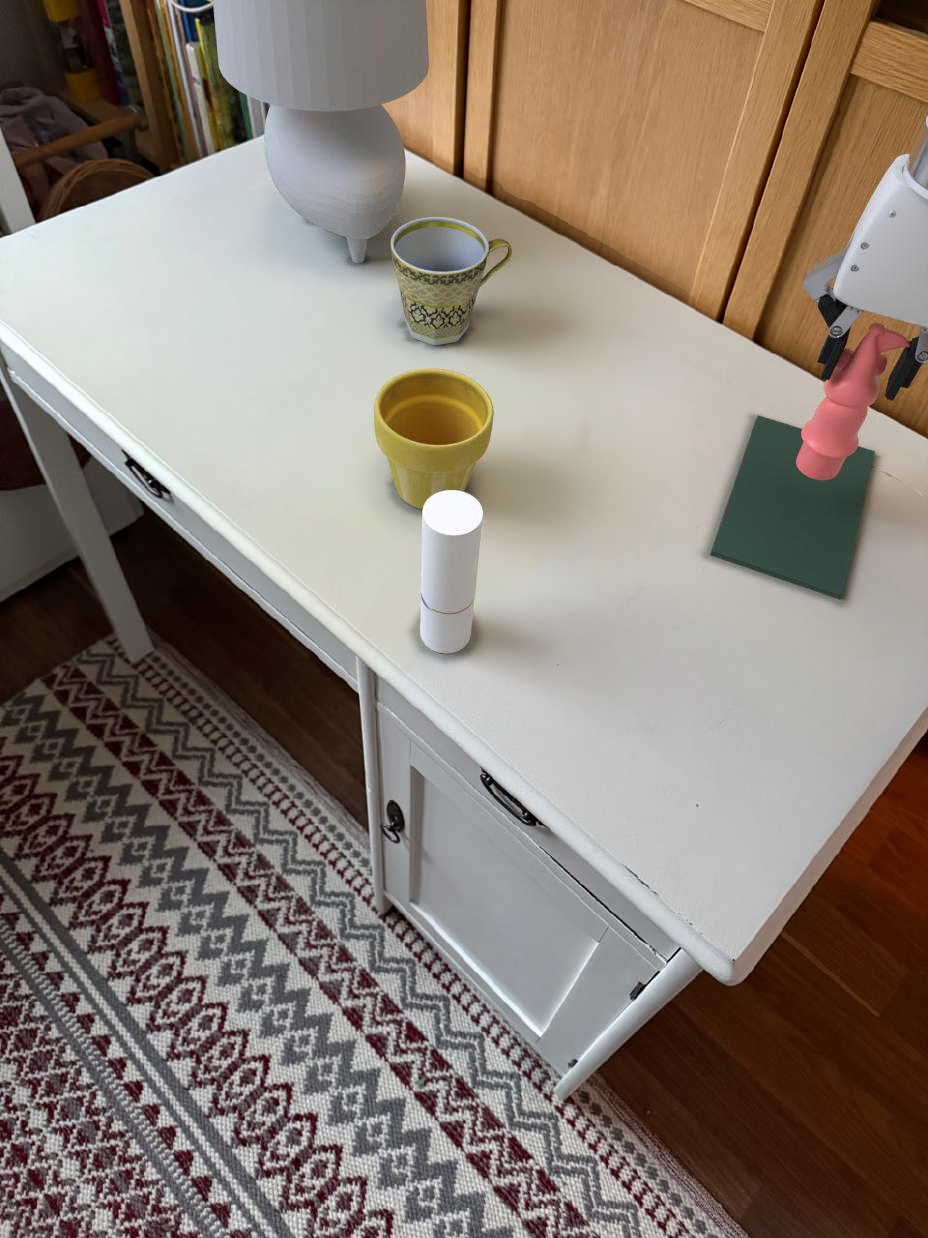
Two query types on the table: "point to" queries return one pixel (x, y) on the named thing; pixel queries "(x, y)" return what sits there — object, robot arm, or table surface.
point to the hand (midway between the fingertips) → (859, 378)
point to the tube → (449, 569)
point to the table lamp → (329, 100)
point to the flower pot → (432, 431)
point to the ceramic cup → (441, 275)
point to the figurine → (845, 404)
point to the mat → (793, 512)
